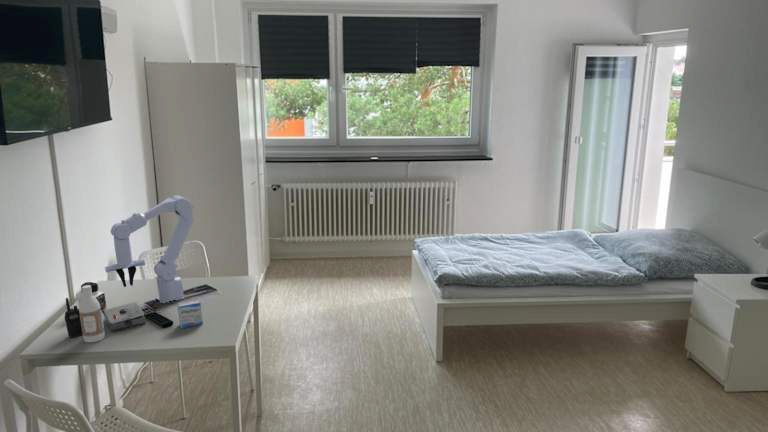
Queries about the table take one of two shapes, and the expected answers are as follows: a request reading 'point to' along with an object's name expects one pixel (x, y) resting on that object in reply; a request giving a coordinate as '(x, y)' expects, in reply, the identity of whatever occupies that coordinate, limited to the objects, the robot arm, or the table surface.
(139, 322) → the flat grey box
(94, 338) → the bath foam
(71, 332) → the two-way radio
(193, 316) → the medicine box
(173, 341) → the table surface
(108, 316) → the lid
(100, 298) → the medicine bottle
